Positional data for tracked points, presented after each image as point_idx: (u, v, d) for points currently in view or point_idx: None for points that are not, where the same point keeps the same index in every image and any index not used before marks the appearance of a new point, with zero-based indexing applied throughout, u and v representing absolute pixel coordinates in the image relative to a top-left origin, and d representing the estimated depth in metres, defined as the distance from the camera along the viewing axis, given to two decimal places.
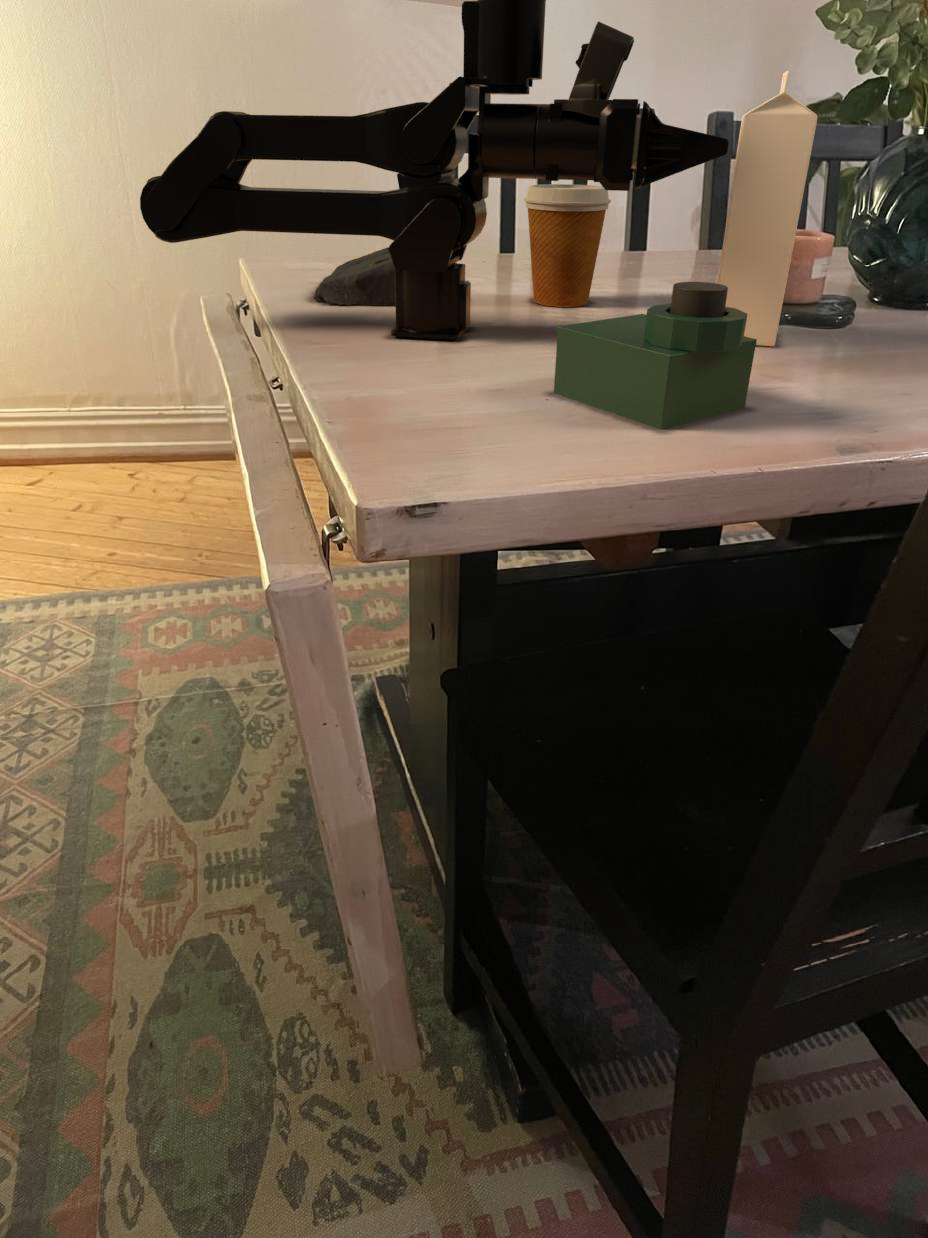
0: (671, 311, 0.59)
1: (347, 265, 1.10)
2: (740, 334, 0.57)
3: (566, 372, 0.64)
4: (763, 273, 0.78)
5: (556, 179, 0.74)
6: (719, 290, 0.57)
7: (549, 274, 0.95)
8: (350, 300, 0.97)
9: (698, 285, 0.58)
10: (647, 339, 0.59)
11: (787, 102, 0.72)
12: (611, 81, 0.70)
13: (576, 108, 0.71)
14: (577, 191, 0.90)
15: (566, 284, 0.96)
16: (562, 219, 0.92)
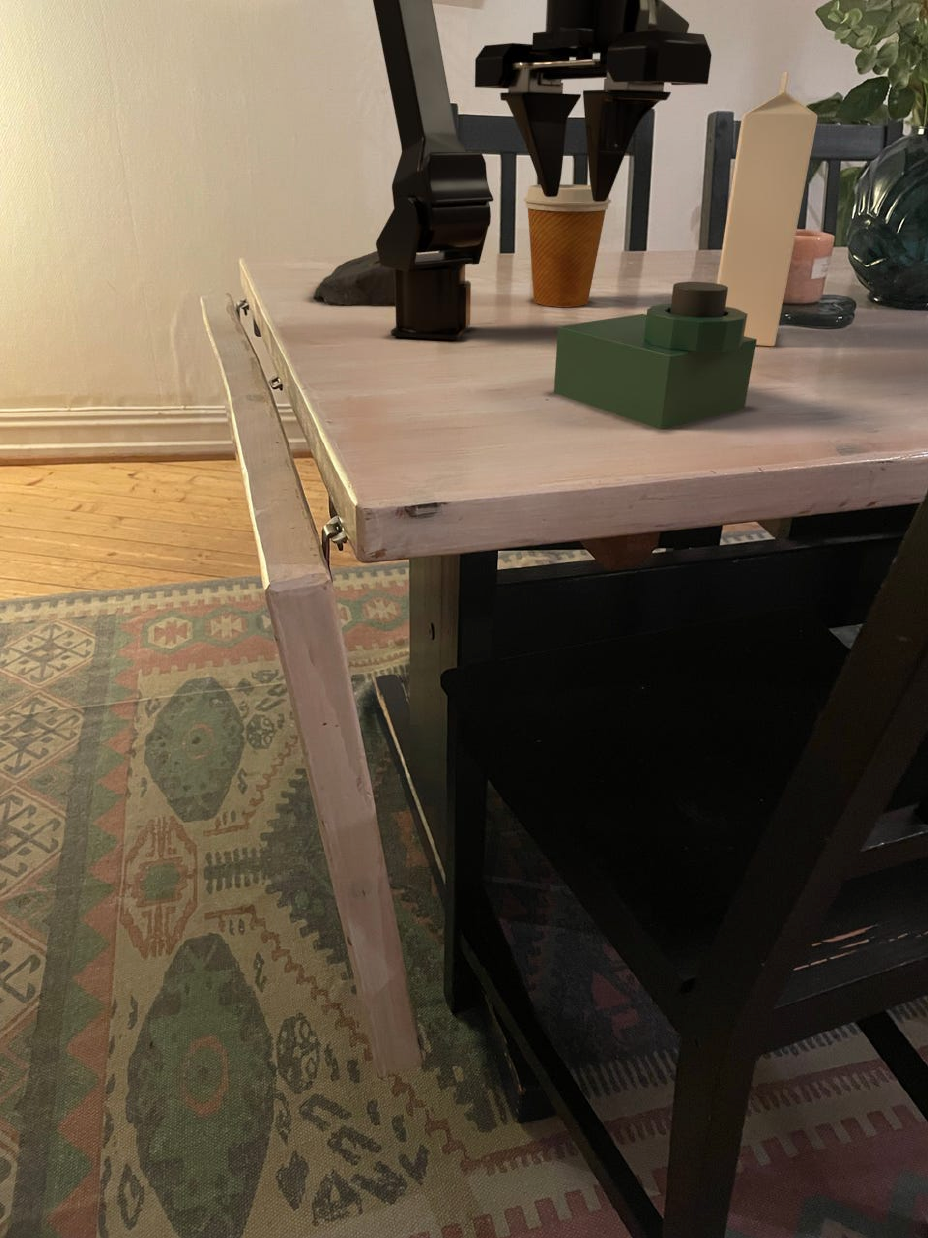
0: (671, 311, 0.59)
1: (347, 265, 1.10)
2: (740, 334, 0.57)
3: (566, 372, 0.64)
4: (763, 273, 0.78)
5: None
6: (719, 290, 0.57)
7: (549, 274, 0.95)
8: (350, 300, 0.97)
9: (698, 285, 0.58)
10: (647, 339, 0.59)
11: (786, 102, 0.72)
12: None
13: None
14: (577, 191, 0.90)
15: (566, 284, 0.96)
16: (562, 219, 0.92)
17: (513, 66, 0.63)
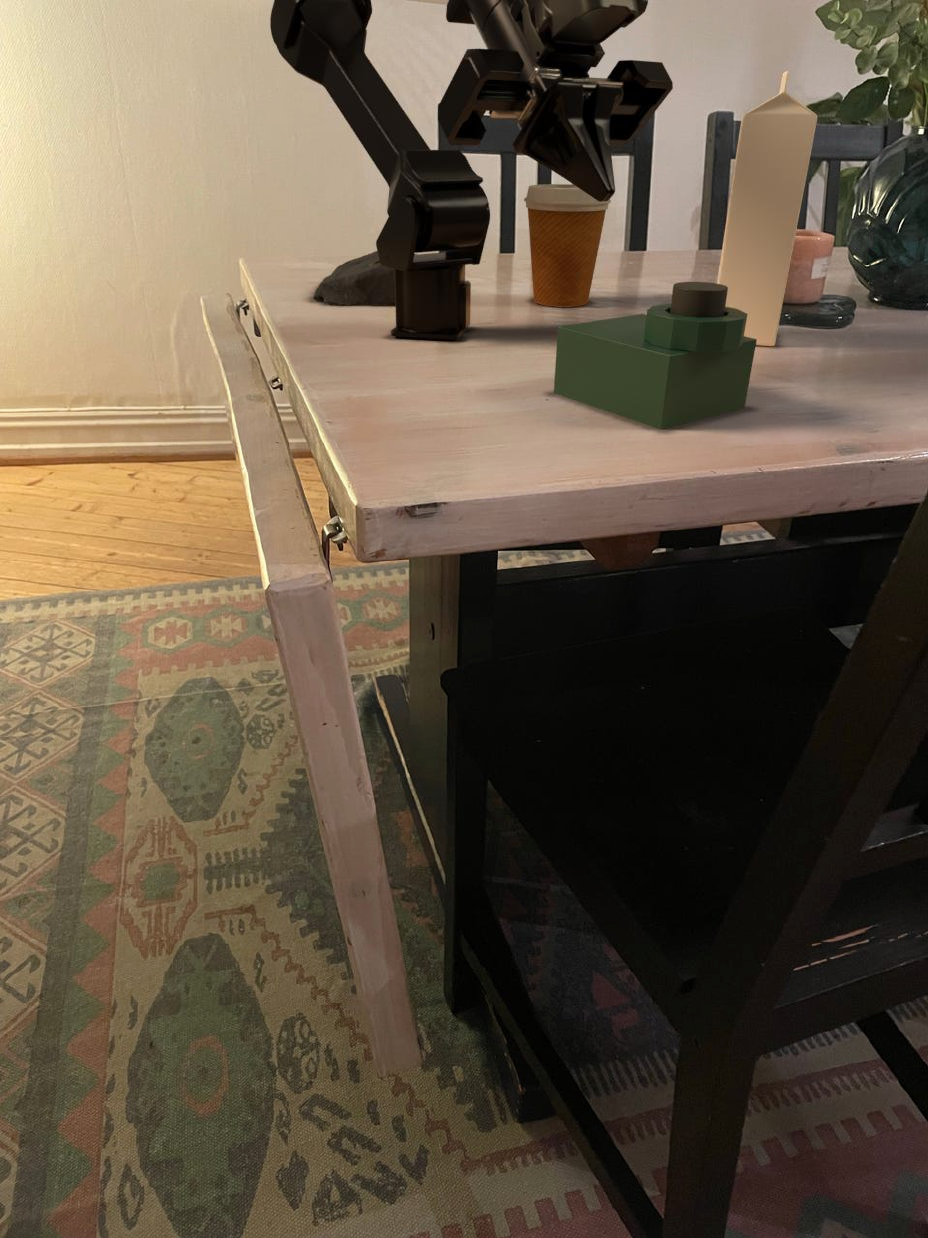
0: (671, 311, 0.59)
1: (347, 265, 1.10)
2: (740, 334, 0.57)
3: (566, 372, 0.64)
4: (763, 273, 0.78)
5: None
6: (719, 290, 0.57)
7: (549, 274, 0.95)
8: (350, 300, 0.97)
9: (698, 285, 0.58)
10: (647, 339, 0.59)
11: (786, 102, 0.72)
12: (559, 30, 0.58)
13: (525, 22, 0.60)
14: (577, 191, 0.90)
15: (566, 284, 0.96)
16: (562, 219, 0.92)
17: None
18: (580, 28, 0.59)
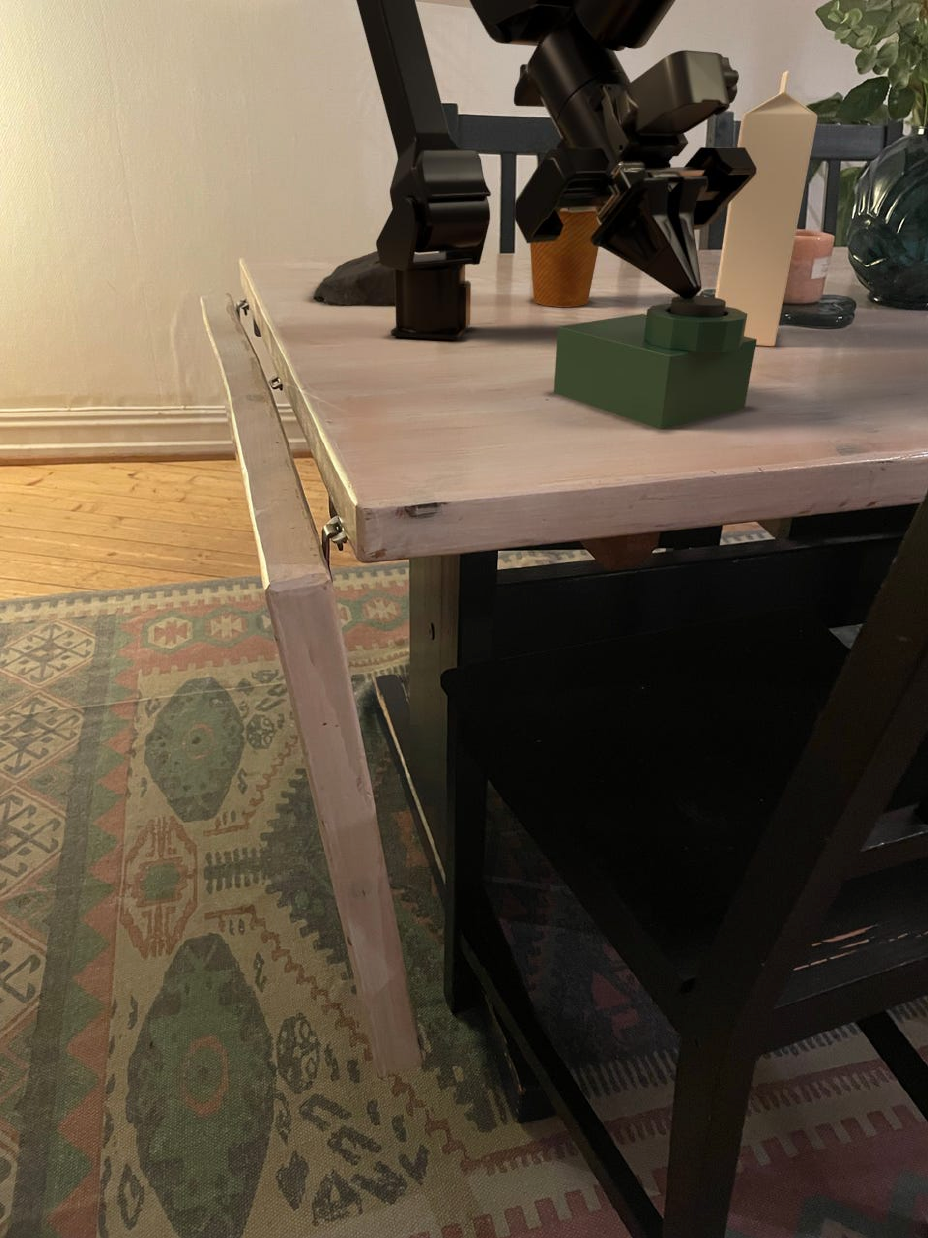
0: None
1: (347, 265, 1.10)
2: (740, 334, 0.57)
3: (566, 372, 0.64)
4: (763, 273, 0.78)
5: None
6: (717, 304, 0.57)
7: (549, 274, 0.95)
8: (350, 300, 0.97)
9: (696, 299, 0.58)
10: (647, 339, 0.59)
11: (786, 102, 0.72)
12: (645, 124, 0.55)
13: (606, 114, 0.57)
14: None
15: (566, 284, 0.96)
16: (562, 219, 0.92)
17: None
18: (667, 121, 0.55)
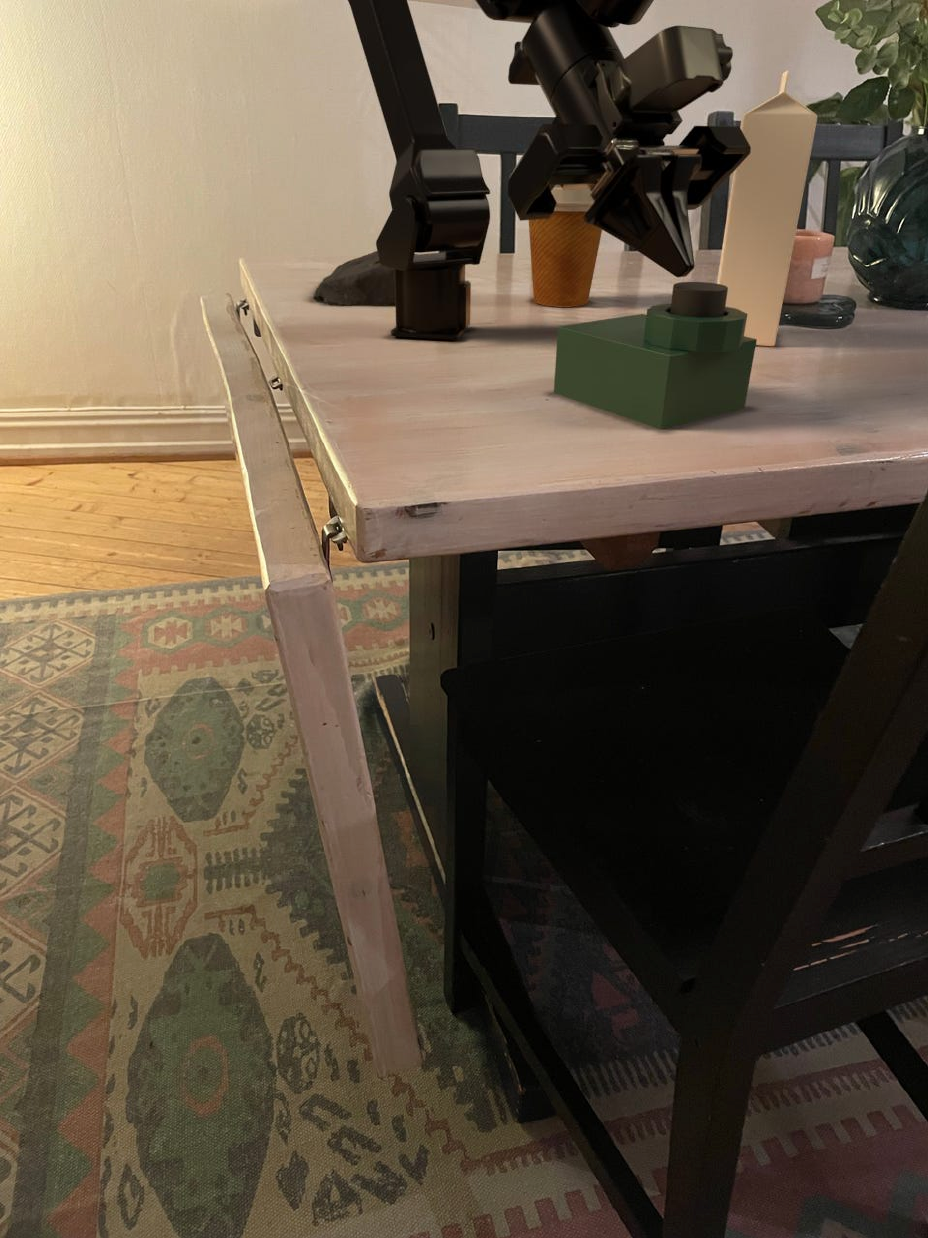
0: (671, 311, 0.59)
1: (347, 265, 1.10)
2: (740, 334, 0.57)
3: (566, 372, 0.64)
4: (763, 272, 0.78)
5: None
6: (719, 290, 0.57)
7: (549, 274, 0.95)
8: (350, 300, 0.97)
9: (698, 285, 0.58)
10: (647, 339, 0.59)
11: (786, 102, 0.72)
12: (638, 101, 0.55)
13: (600, 91, 0.57)
14: (577, 191, 0.90)
15: (566, 284, 0.96)
16: (562, 219, 0.92)
17: None
18: (660, 98, 0.55)
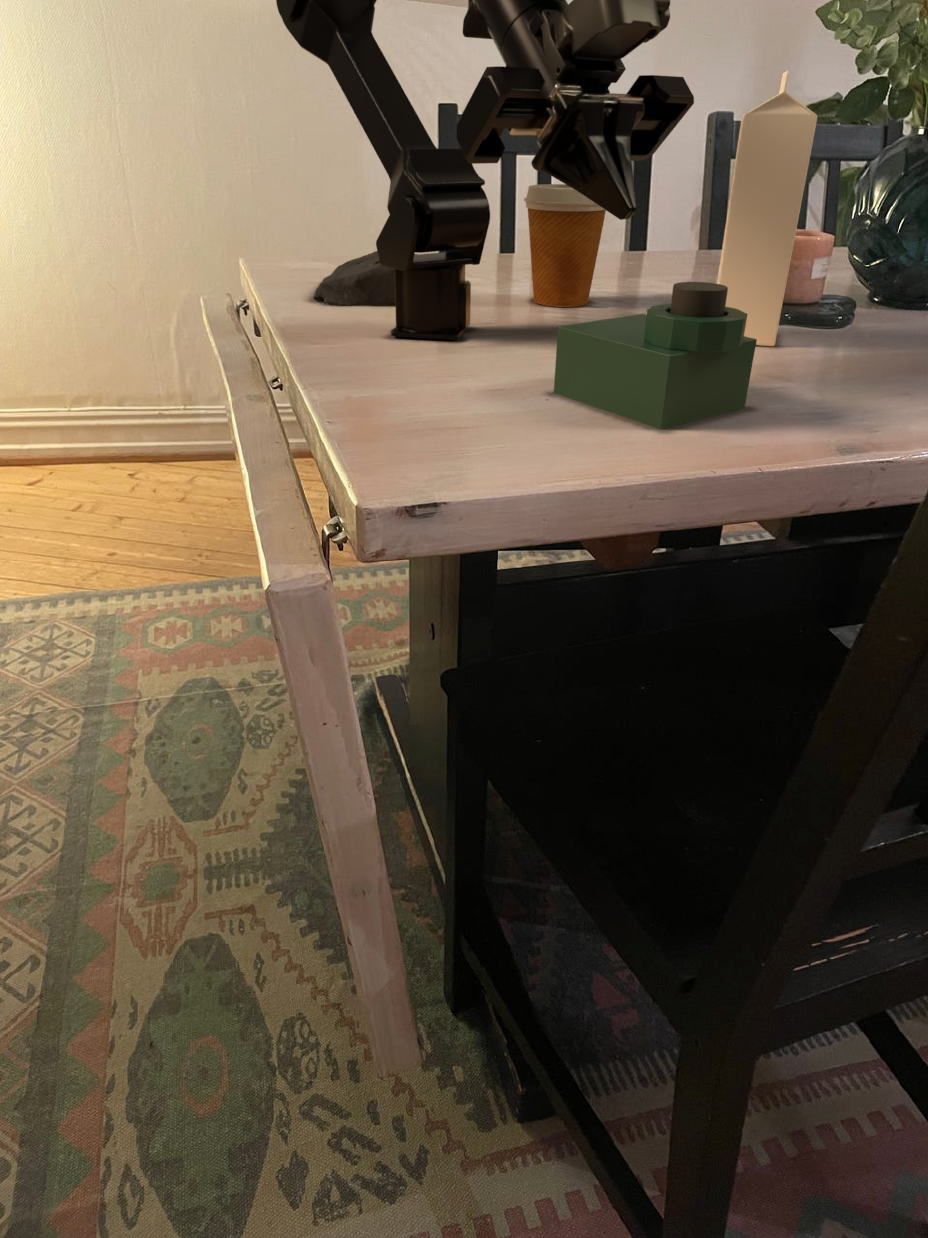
0: (671, 311, 0.59)
1: (347, 265, 1.10)
2: (740, 334, 0.57)
3: (566, 372, 0.64)
4: (763, 272, 0.78)
5: None
6: (719, 290, 0.57)
7: (549, 274, 0.95)
8: (350, 300, 0.97)
9: (698, 285, 0.58)
10: (647, 339, 0.59)
11: (786, 102, 0.72)
12: (580, 46, 0.57)
13: (545, 38, 0.59)
14: (577, 191, 0.90)
15: (566, 284, 0.96)
16: (562, 219, 0.92)
17: None
18: (601, 44, 0.58)
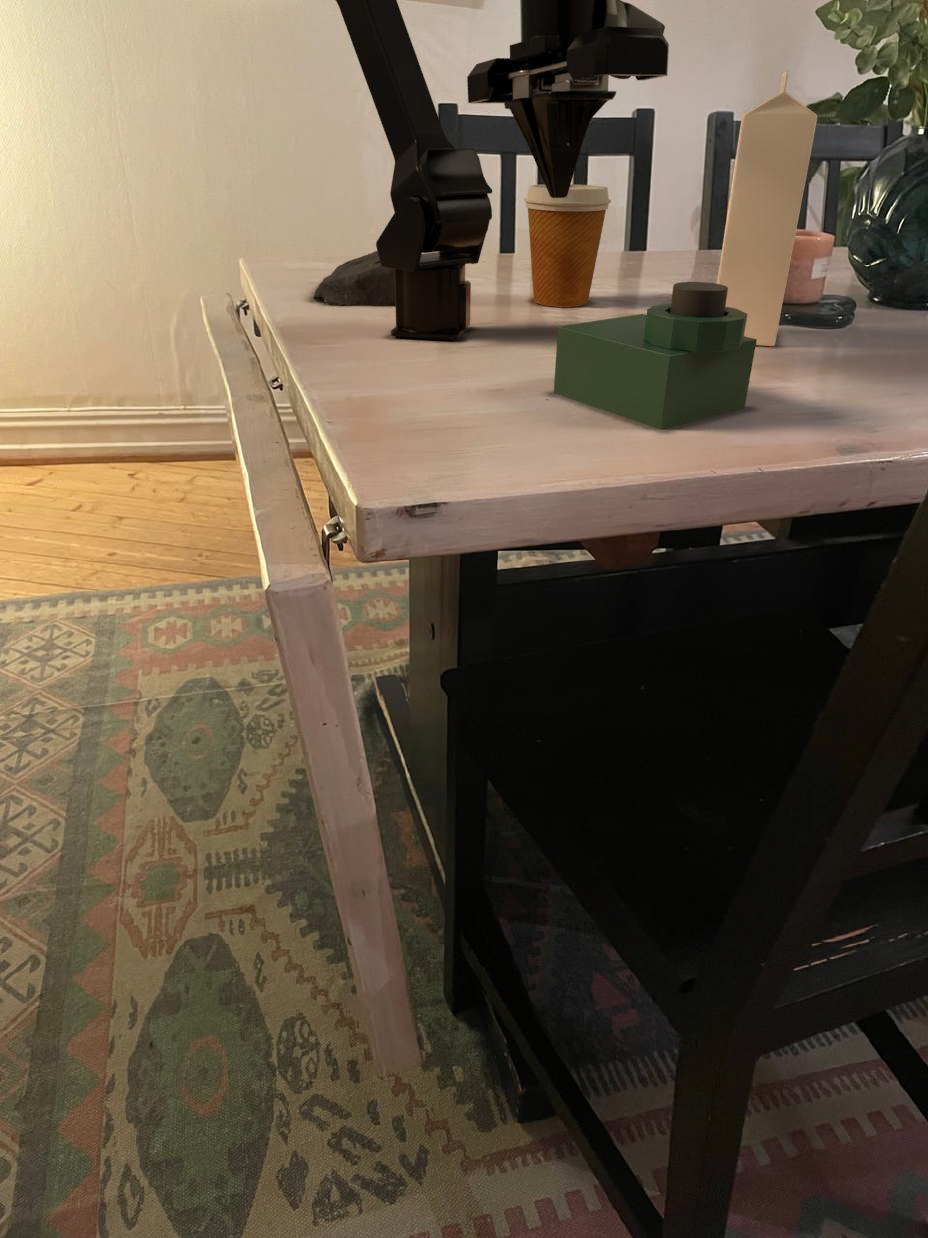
0: (671, 311, 0.59)
1: (347, 265, 1.10)
2: (740, 334, 0.57)
3: (566, 372, 0.64)
4: (763, 272, 0.78)
5: None
6: (719, 290, 0.57)
7: (549, 274, 0.95)
8: (350, 300, 0.97)
9: (698, 285, 0.58)
10: (647, 339, 0.59)
11: (786, 102, 0.72)
12: None
13: (609, 4, 0.62)
14: (577, 191, 0.90)
15: (566, 284, 0.96)
16: (562, 219, 0.92)
17: (514, 75, 0.66)
18: None
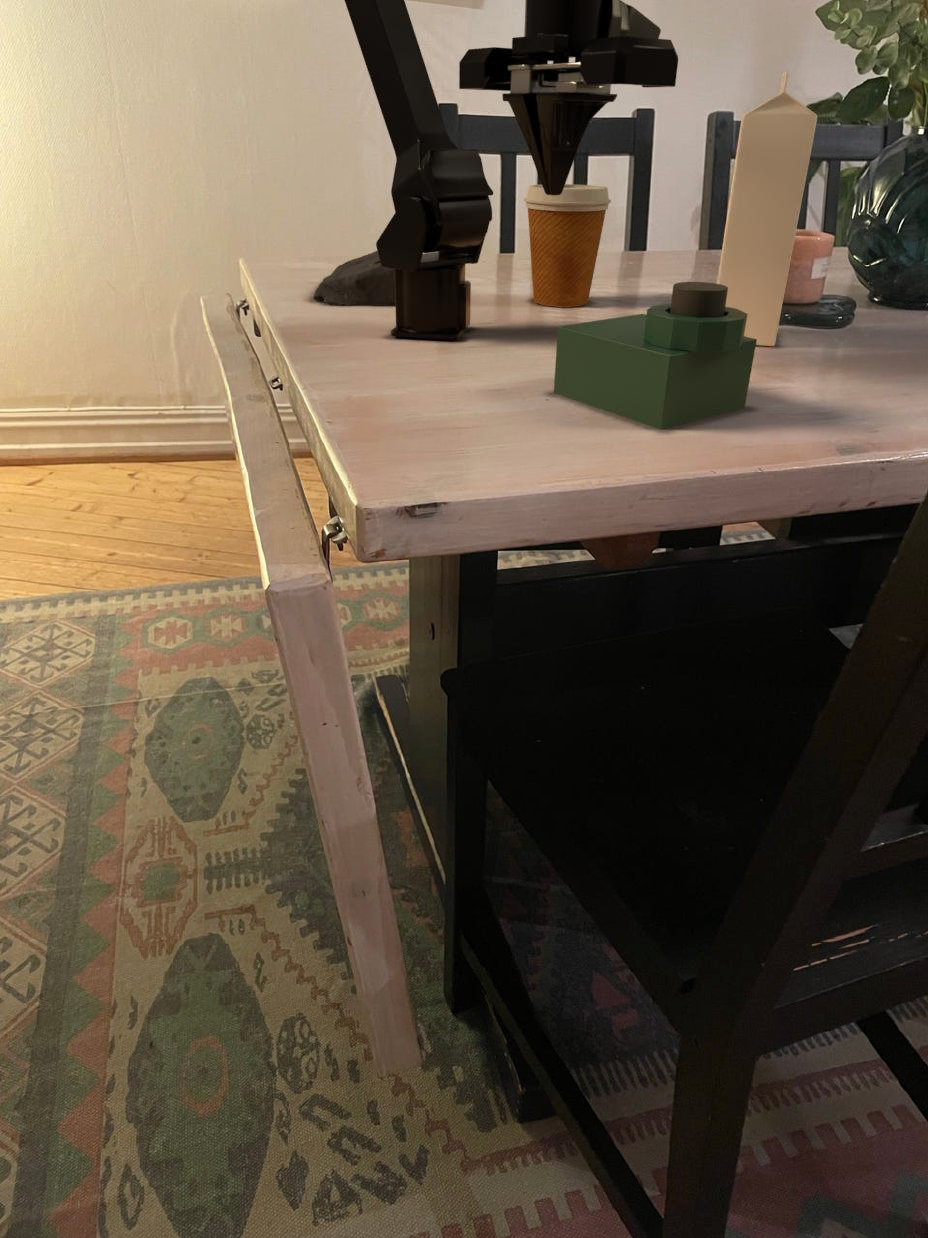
0: (671, 311, 0.59)
1: (347, 265, 1.10)
2: (740, 334, 0.57)
3: (566, 372, 0.64)
4: (763, 272, 0.78)
5: None
6: (719, 290, 0.57)
7: (549, 274, 0.95)
8: (350, 300, 0.97)
9: (698, 285, 0.58)
10: (647, 339, 0.59)
11: (786, 102, 0.72)
12: None
13: (615, 6, 0.63)
14: (577, 191, 0.90)
15: (566, 284, 0.96)
16: (562, 219, 0.92)
17: (515, 68, 0.65)
18: None
